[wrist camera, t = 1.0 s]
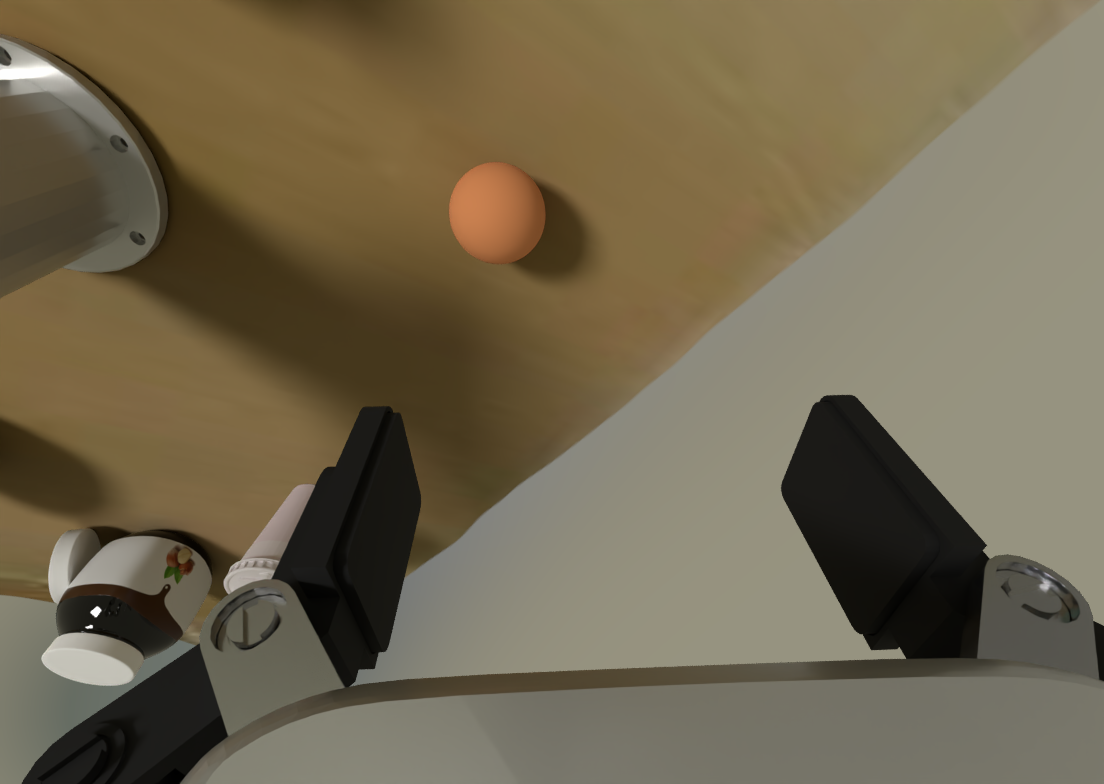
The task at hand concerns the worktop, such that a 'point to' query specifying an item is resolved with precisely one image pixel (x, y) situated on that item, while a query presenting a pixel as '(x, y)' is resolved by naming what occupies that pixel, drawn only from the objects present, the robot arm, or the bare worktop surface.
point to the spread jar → (122, 601)
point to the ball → (497, 213)
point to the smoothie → (269, 542)
